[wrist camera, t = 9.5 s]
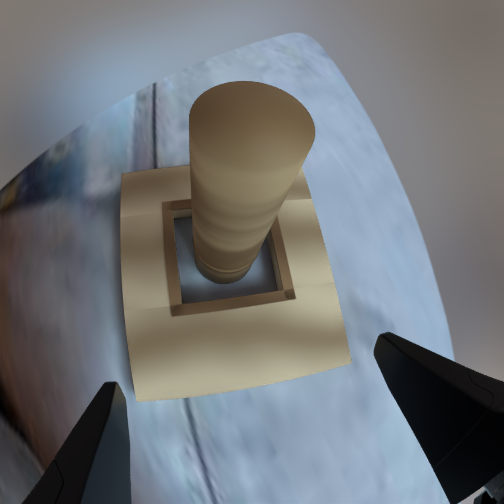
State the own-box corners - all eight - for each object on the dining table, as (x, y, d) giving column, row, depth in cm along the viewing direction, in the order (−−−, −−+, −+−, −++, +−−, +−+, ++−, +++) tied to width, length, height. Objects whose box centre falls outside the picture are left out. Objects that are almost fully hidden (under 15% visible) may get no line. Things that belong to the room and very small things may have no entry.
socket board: (344, 363, 19) (352, 362, 18) (140, 399, 16) (136, 402, 15) (295, 167, 24) (299, 158, 23) (125, 182, 21) (121, 172, 20)
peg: (257, 280, 20) (333, 168, 8) (198, 288, 20) (191, 175, 8) (247, 226, 22) (297, 82, 10) (191, 232, 21) (185, 82, 9)
